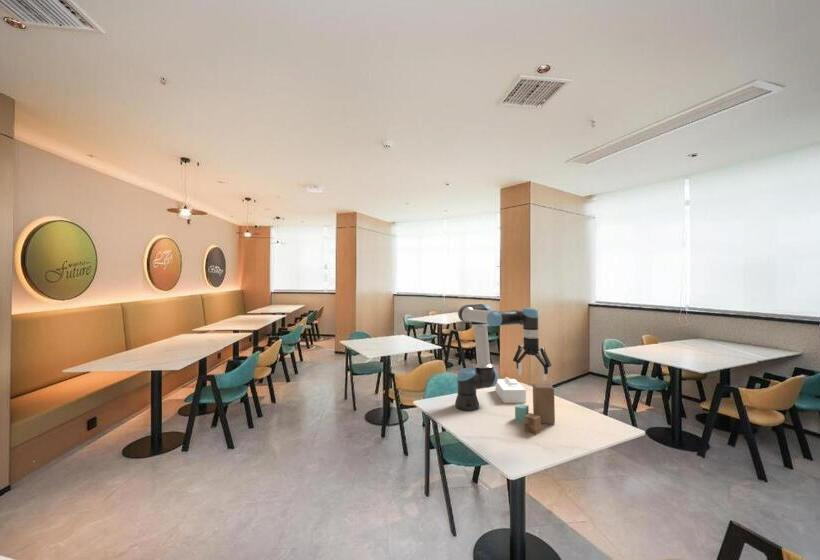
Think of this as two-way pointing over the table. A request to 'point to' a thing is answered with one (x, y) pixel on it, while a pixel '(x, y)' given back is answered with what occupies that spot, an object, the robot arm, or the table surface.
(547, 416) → the block
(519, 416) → the teal block
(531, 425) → the walnut block
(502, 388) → the tissue box
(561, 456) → the table surface
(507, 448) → the table surface
